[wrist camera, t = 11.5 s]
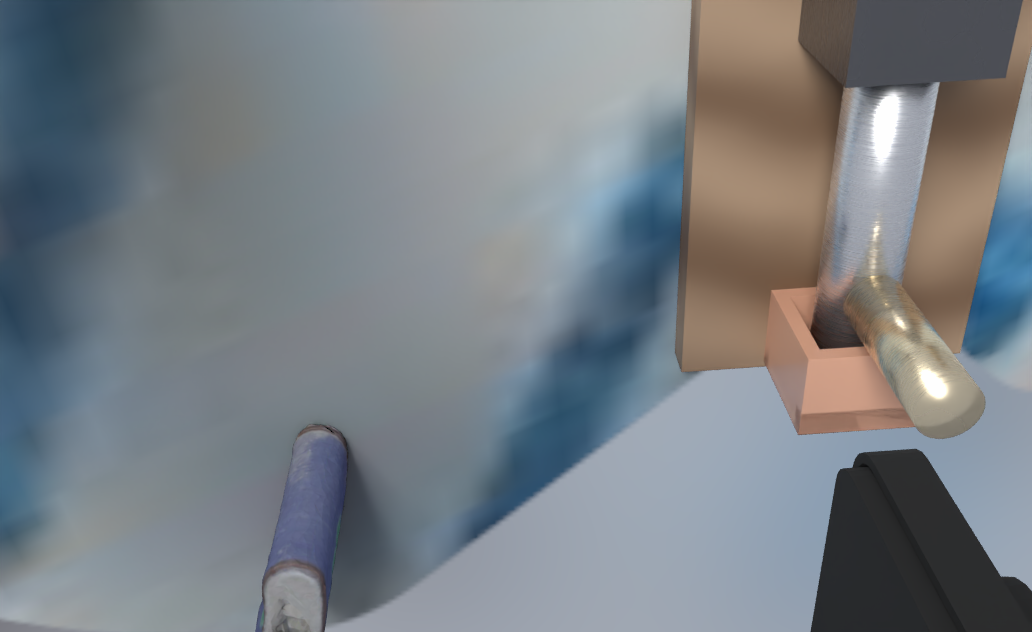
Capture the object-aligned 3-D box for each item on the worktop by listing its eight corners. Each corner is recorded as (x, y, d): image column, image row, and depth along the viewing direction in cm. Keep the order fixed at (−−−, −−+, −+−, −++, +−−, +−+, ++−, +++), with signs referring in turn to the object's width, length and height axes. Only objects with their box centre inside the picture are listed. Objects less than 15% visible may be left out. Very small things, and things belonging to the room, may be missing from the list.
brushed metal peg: (843, -15, 33) (969, 78, 25) (932, -20, 33) (1088, 71, 25) (796, 351, 40) (881, 512, 32) (868, 346, 41) (970, 506, 33)
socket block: (771, 289, 40) (808, 359, 36) (893, 281, 40) (944, 350, 36) (763, 360, 42) (798, 435, 38) (880, 353, 42) (927, 426, 38)
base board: (703, -251, 31) (714, -249, 30) (1079, -272, 31) (1106, -271, 30) (674, 352, 43) (681, 372, 42) (945, 334, 44) (959, 353, 42)
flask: (298, 416, 44) (257, 602, 35) (362, 428, 45) (339, 614, 36) (268, 560, 49) (226, 758, 40) (327, 569, 49) (299, 766, 40)
